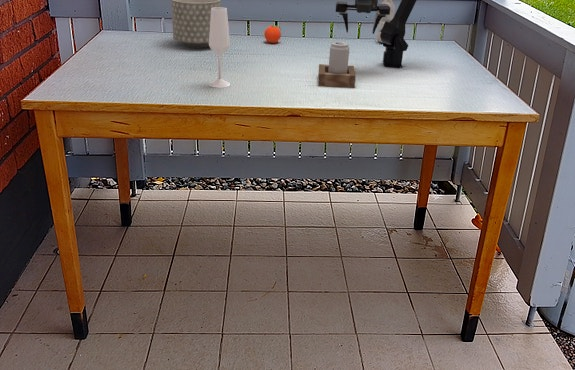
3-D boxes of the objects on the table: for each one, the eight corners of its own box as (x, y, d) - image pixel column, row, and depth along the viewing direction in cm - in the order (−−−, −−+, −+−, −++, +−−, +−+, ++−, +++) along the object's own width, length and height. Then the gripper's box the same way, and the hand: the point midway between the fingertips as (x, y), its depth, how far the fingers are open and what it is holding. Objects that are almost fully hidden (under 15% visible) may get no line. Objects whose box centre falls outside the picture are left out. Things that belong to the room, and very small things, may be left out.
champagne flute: (211, 80, 189) (209, 6, 178) (231, 81, 189) (231, 7, 178) (208, 86, 183) (206, 10, 172) (229, 87, 183) (228, 11, 172)
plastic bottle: (392, 44, 245) (398, -4, 236) (376, 44, 245) (381, -5, 236) (390, 41, 251) (395, -7, 241) (374, 40, 251) (379, -7, 241)
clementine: (275, 39, 245) (275, 22, 242) (285, 43, 241) (286, 25, 237) (260, 42, 240) (261, 24, 237) (271, 45, 236) (272, 28, 232)
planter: (196, 37, 243) (195, -8, 235) (230, 45, 233) (230, -1, 225) (163, 45, 229) (160, -2, 221) (198, 53, 220) (196, 4, 211)
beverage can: (341, 75, 197) (344, 40, 192) (349, 80, 192) (353, 45, 187) (324, 76, 195) (327, 41, 190) (332, 82, 190) (335, 46, 184)
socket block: (352, 77, 199) (353, 66, 198) (354, 87, 189) (355, 75, 187) (318, 75, 200) (319, 64, 198) (318, 85, 189) (319, 74, 187)
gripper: (338, -11, 189) (334, 36, 196) (394, -8, 189) (388, 39, 196) (337, -16, 199) (333, 29, 206) (390, -13, 199) (385, 32, 206)
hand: (360, 33), depth 203 cm, fingers open, 9 cm apart
